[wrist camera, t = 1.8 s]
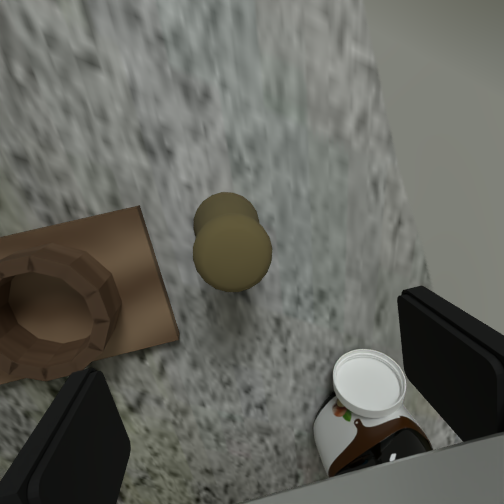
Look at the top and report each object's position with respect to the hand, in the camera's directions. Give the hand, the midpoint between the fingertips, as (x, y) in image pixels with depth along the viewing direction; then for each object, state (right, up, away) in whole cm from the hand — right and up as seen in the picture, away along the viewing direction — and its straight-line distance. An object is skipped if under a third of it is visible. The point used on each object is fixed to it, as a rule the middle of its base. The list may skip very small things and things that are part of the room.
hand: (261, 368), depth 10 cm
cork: (-3, +6, +21) cm, 22 cm away
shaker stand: (-18, 0, +21) cm, 27 cm away
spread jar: (+11, -12, +28) cm, 32 cm away
